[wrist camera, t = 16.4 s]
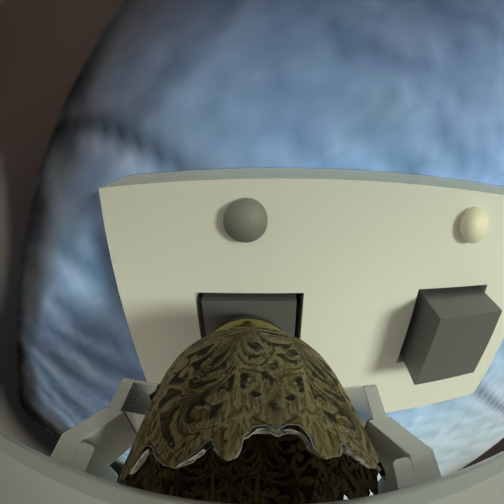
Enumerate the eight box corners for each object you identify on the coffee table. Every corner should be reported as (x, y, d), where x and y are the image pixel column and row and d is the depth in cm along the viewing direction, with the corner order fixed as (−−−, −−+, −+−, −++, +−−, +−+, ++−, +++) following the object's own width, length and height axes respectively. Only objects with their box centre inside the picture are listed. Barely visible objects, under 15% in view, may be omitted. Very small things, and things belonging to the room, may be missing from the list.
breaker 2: (412, 282, 13) (440, 319, 10) (471, 279, 13) (502, 310, 10) (395, 344, 15) (414, 385, 12) (451, 337, 15) (473, 372, 12)
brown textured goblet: (353, 284, 12) (442, 445, 5) (301, 398, 15) (325, 530, 8) (172, 252, 11) (90, 433, 4) (163, 380, 14) (133, 519, 7)
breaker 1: (213, 267, 15) (201, 300, 13) (291, 267, 15) (296, 301, 12) (219, 328, 17) (210, 367, 14) (288, 329, 17) (291, 368, 14)
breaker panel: (128, 175, 14) (93, 190, 11) (513, 188, 12) (549, 204, 9) (170, 380, 19) (157, 417, 16) (458, 366, 18) (475, 396, 15)
